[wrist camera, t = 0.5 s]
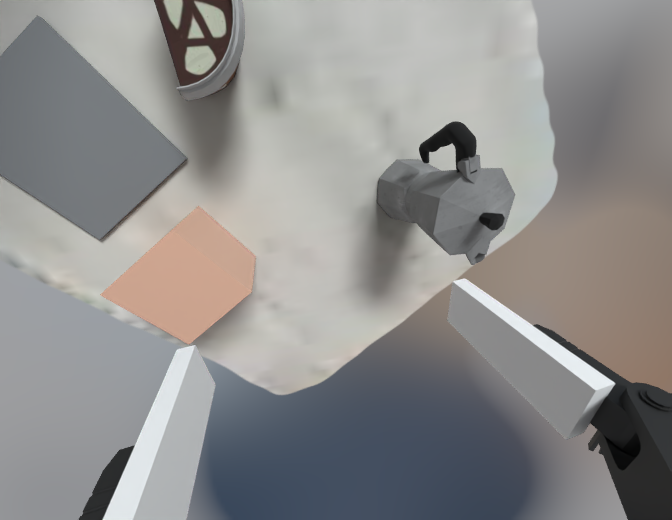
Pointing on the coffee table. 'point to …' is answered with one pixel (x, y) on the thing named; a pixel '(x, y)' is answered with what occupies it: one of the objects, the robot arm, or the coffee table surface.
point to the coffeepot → (449, 195)
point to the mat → (75, 134)
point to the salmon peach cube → (187, 278)
